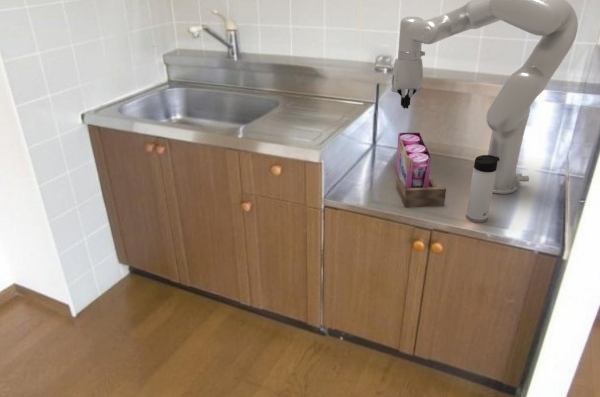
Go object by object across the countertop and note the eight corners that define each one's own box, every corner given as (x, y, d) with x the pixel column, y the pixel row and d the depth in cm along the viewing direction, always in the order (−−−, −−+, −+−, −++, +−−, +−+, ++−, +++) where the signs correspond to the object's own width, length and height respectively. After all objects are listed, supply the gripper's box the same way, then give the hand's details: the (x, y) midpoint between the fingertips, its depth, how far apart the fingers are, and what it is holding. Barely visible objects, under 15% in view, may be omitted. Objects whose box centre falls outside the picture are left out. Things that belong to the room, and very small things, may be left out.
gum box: (429, 197, 162) (433, 159, 156) (404, 197, 162) (408, 160, 156) (416, 166, 183) (420, 132, 177) (395, 166, 183) (397, 132, 177)
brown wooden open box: (432, 185, 169) (433, 169, 166) (443, 205, 157) (446, 188, 154) (396, 186, 169) (397, 171, 166) (405, 207, 157) (406, 190, 154)
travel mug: (489, 223, 147) (501, 162, 137) (466, 222, 148) (476, 161, 138) (487, 213, 152) (498, 153, 143) (464, 211, 153) (474, 152, 144)
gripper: (428, 52, 172) (423, 103, 181) (385, 53, 172) (382, 104, 181) (434, 57, 165) (428, 110, 174) (389, 58, 165) (386, 111, 174)
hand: (405, 107), depth 177 cm, fingers closed
